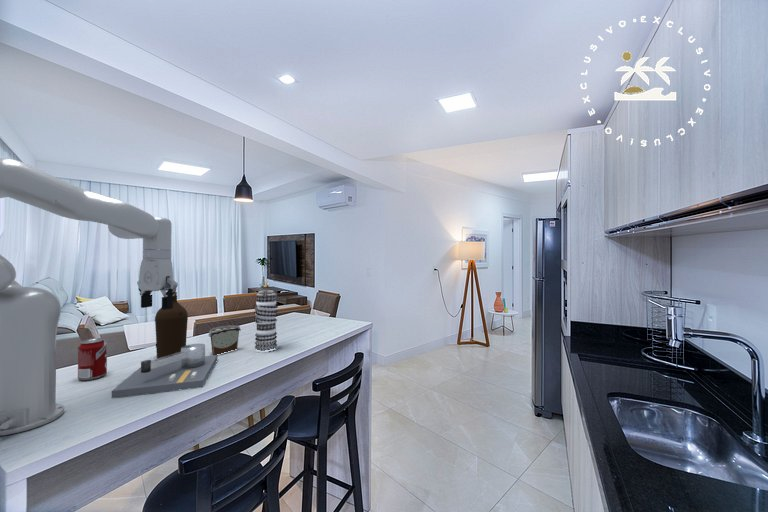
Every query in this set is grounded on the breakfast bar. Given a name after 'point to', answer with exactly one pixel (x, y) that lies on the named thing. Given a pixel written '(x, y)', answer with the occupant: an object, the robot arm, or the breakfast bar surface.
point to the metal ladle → (178, 358)
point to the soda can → (92, 359)
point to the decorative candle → (266, 320)
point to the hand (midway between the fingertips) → (156, 308)
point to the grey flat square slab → (165, 379)
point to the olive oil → (171, 329)
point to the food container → (224, 339)
